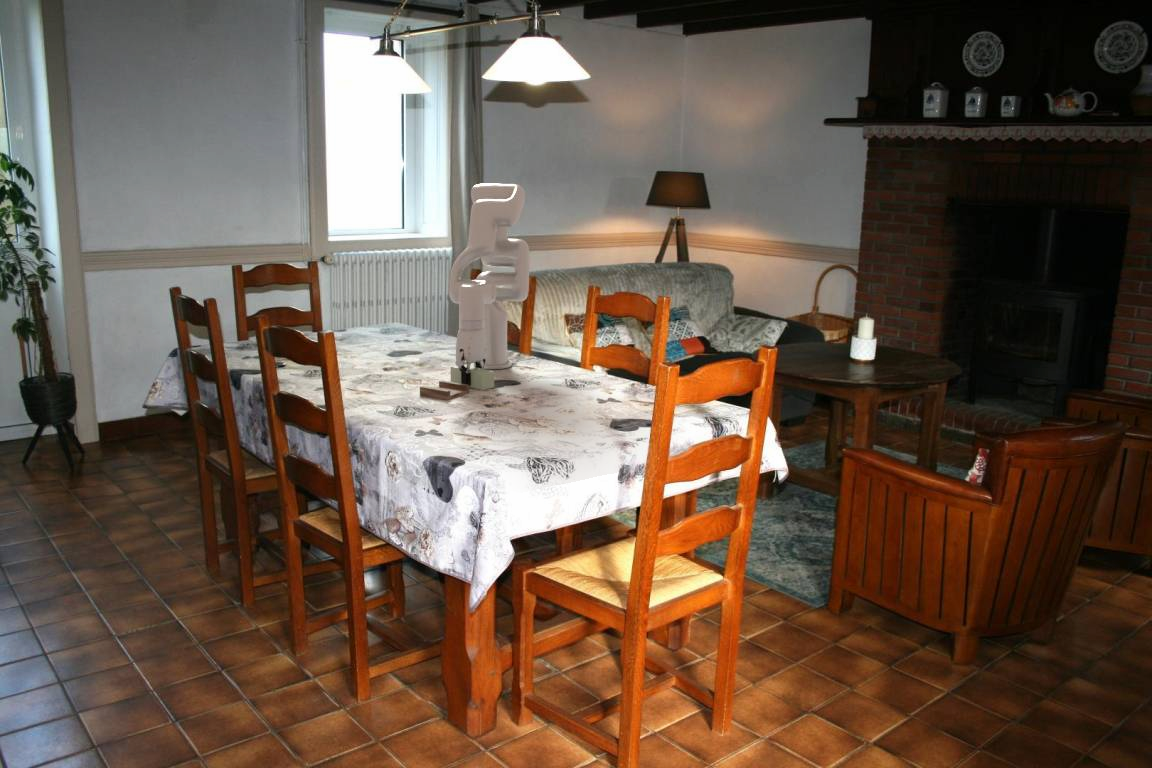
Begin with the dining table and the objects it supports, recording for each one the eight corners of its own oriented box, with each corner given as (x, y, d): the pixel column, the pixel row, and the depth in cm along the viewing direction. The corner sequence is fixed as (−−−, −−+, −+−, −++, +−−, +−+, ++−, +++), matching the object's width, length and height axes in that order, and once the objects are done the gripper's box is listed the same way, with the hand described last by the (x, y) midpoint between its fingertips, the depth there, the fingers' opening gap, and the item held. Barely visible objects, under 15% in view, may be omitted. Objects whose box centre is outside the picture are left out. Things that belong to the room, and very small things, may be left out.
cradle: (442, 388, 297) (442, 380, 297) (469, 392, 293) (468, 384, 292) (419, 395, 289) (419, 387, 288) (447, 400, 284) (447, 391, 283)
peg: (462, 379, 308) (462, 364, 307) (494, 387, 300) (494, 371, 298) (450, 382, 305) (450, 366, 304) (482, 390, 296) (482, 374, 295)
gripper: (478, 319, 307) (478, 376, 311) (444, 327, 292) (445, 387, 297) (498, 322, 303) (498, 379, 307) (464, 330, 289) (465, 390, 293)
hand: (472, 382), depth 302 cm, fingers closed on peg, 5 cm apart
